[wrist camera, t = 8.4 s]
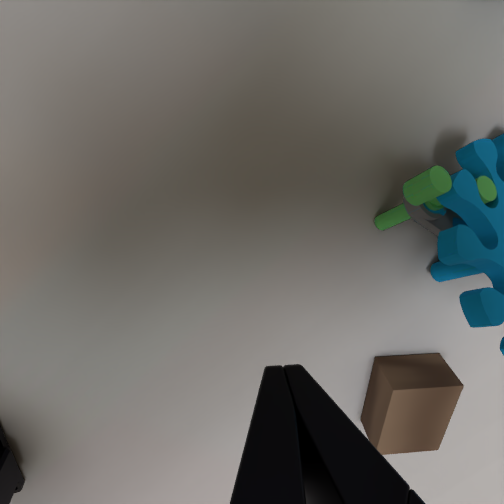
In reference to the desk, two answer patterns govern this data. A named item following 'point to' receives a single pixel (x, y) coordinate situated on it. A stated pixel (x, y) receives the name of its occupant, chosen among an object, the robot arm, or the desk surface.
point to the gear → (463, 224)
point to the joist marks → (409, 402)
